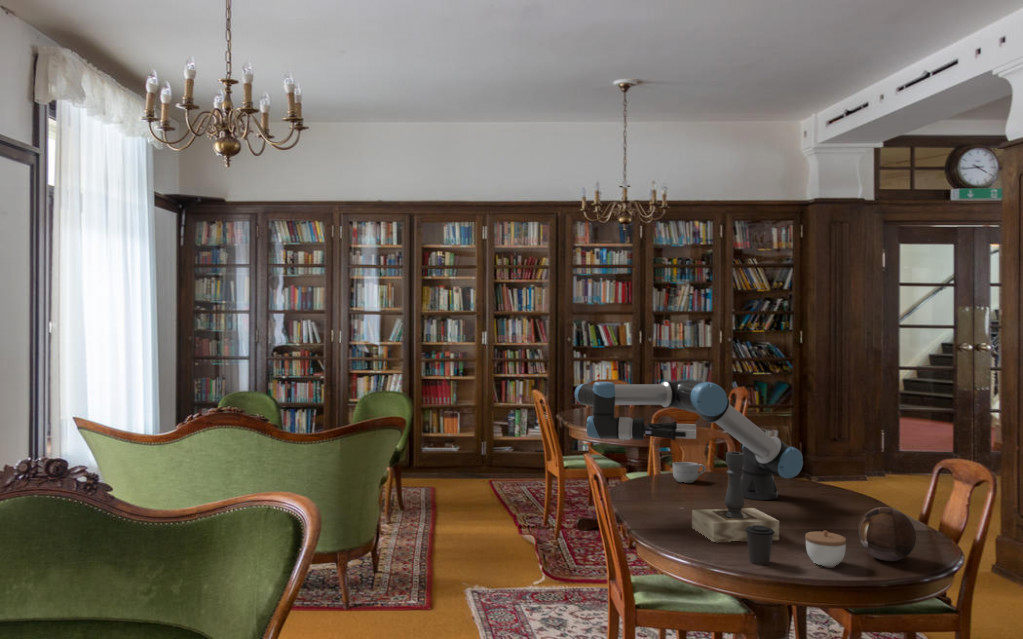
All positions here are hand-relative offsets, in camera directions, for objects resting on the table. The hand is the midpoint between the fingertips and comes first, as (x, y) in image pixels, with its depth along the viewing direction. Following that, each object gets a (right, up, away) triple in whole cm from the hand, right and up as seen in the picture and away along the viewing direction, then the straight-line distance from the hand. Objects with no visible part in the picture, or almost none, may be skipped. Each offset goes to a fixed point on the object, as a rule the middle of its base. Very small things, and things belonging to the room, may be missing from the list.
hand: (696, 431), depth 246 cm
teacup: (+14, -32, +68) cm, 76 cm away
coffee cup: (+9, -32, -37) cm, 49 cm away
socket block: (+10, -32, -9) cm, 34 cm away
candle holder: (+10, -31, -9) cm, 34 cm away
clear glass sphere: (+47, -32, -33) cm, 66 cm away
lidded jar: (+27, -32, -38) cm, 56 cm away
